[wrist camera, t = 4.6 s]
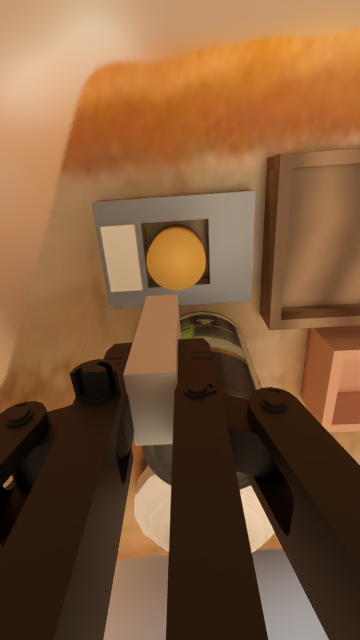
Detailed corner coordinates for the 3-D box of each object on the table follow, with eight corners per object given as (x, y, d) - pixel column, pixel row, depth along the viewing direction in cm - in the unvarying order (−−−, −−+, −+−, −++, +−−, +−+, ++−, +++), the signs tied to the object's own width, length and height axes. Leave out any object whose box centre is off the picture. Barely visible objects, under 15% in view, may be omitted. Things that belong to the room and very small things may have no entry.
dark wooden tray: (260, 313, 33) (269, 330, 29) (267, 158, 27) (280, 154, 23) (401, 305, 32) (428, 321, 29) (442, 144, 26) (484, 138, 22)
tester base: (115, 300, 32) (109, 311, 30) (99, 200, 28) (90, 202, 25) (246, 292, 32) (252, 303, 29) (249, 190, 28) (256, 191, 25)
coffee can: (139, 350, 35) (113, 447, 22) (205, 292, 32) (220, 366, 19) (198, 401, 38) (205, 513, 25) (264, 353, 35) (310, 453, 22)
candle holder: (245, 530, 49) (279, 725, 31) (124, 505, 47) (88, 699, 29) (301, 443, 41) (388, 640, 23) (158, 408, 39) (137, 597, 21)
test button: (154, 278, 30) (149, 291, 27) (148, 226, 28) (143, 233, 24) (204, 275, 30) (206, 288, 26) (202, 223, 28) (204, 229, 24)
